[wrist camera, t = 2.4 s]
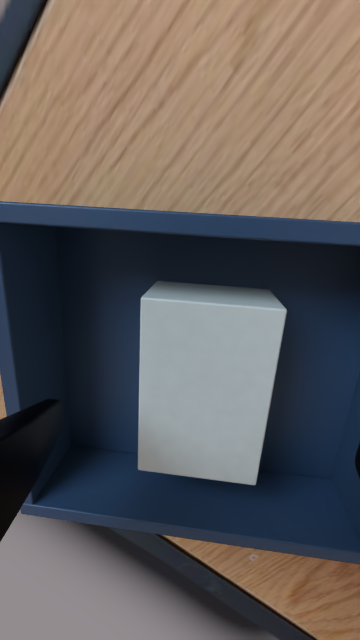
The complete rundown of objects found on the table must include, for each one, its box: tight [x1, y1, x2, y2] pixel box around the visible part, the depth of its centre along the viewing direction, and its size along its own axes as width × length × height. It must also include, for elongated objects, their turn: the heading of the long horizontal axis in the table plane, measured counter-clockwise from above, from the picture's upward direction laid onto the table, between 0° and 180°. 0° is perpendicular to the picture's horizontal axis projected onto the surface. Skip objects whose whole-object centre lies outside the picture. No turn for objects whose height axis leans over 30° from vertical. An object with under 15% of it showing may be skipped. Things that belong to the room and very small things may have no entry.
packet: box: [138, 281, 287, 485], centre depth 12 cm, size 7×5×3 cm, turn 177°
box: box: [0, 201, 360, 564], centre depth 12 cm, size 12×14×4 cm
